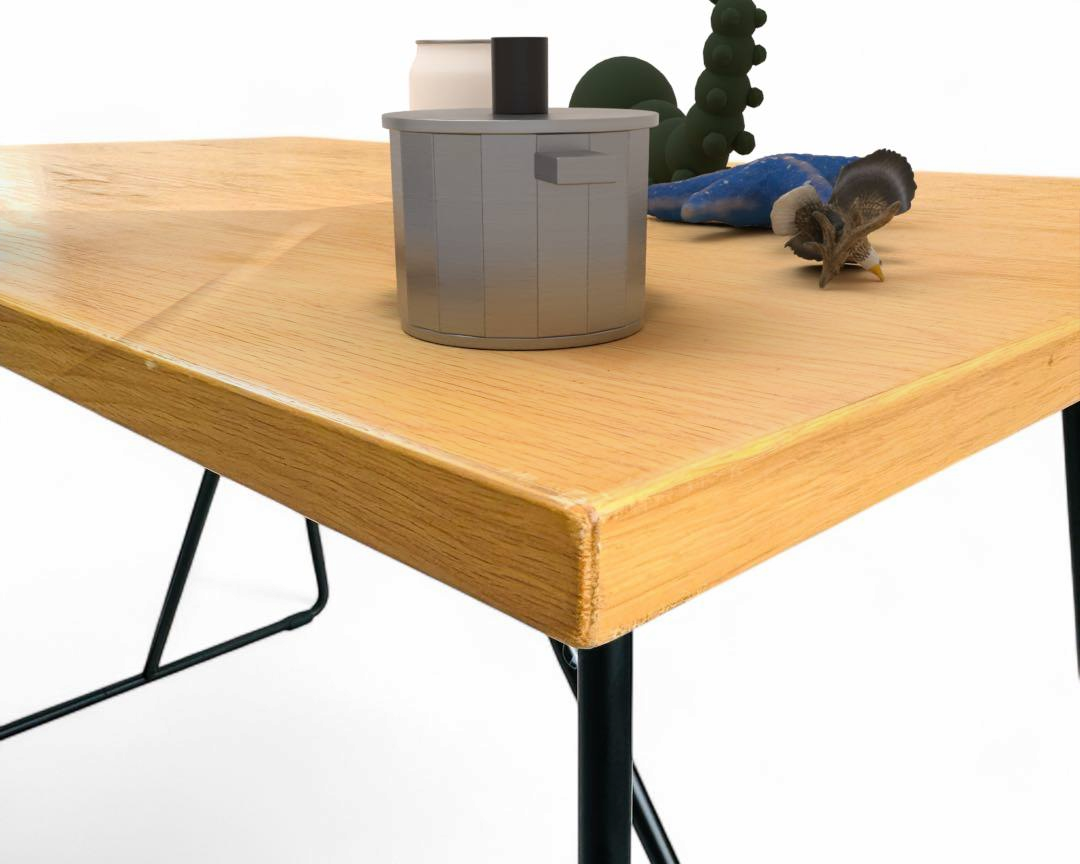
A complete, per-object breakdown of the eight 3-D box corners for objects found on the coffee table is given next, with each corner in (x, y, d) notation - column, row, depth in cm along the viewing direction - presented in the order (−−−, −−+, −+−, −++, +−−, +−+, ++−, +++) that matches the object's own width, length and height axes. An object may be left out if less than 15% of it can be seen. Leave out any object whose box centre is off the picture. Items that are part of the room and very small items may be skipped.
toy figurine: (776, 228, 96) (619, 174, 116) (808, -35, 88) (633, -46, 108) (676, 236, 92) (531, 178, 112) (699, -39, 84) (538, -49, 104)
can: (526, 291, 62) (524, 38, 58) (403, 288, 63) (392, 39, 59) (544, 270, 68) (543, 40, 64) (431, 268, 69) (422, 41, 65)
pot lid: (418, 153, 45) (413, 35, 44) (359, 135, 56) (353, 39, 54) (705, 145, 49) (710, 34, 47) (599, 129, 59) (600, 38, 58)
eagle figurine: (940, 272, 60) (946, 216, 67) (869, 148, 58) (883, 104, 65) (805, 342, 64) (824, 282, 71) (734, 228, 62) (762, 179, 69)
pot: (450, 374, 46) (443, 140, 43) (367, 298, 61) (357, 119, 57) (712, 352, 49) (722, 133, 46) (574, 285, 64) (575, 114, 61)
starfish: (694, 204, 97) (696, 139, 95) (925, 220, 88) (933, 148, 86) (570, 232, 83) (570, 156, 81) (831, 254, 73) (838, 168, 71)
